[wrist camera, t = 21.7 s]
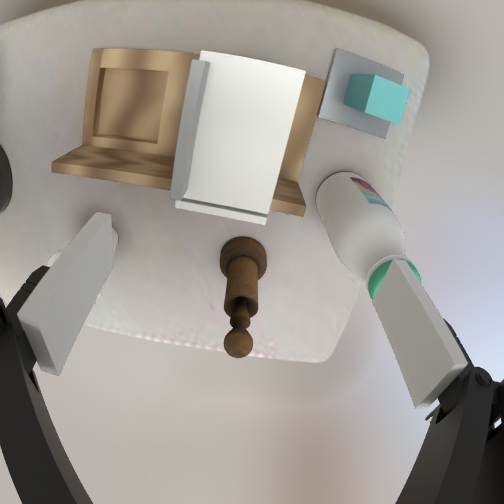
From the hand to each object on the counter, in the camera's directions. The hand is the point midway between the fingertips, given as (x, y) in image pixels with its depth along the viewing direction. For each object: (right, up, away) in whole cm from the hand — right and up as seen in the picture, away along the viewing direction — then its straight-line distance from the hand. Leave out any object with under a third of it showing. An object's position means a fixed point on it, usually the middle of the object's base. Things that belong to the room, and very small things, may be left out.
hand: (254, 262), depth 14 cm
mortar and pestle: (-1, 0, +32) cm, 32 cm away
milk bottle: (+12, +8, +27) cm, 30 cm away
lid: (-1, +14, +20) cm, 24 cm away
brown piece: (-7, +17, +21) cm, 28 cm away
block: (+13, +19, +19) cm, 30 cm away
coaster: (+13, +20, +19) cm, 31 cm away
